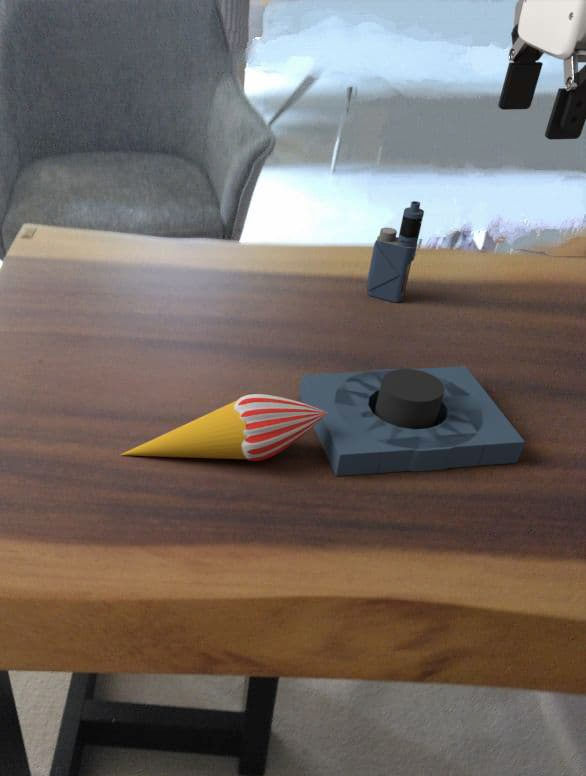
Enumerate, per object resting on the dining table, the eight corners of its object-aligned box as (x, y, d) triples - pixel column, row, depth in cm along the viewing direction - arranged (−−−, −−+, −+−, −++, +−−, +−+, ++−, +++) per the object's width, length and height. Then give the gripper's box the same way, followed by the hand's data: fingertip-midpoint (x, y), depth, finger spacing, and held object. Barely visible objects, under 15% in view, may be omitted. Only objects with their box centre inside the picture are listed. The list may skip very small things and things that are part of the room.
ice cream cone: (131, 483, 79) (330, 444, 77) (121, 490, 73) (337, 447, 71) (118, 422, 78) (319, 380, 76) (106, 424, 72) (325, 378, 70)
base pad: (459, 384, 86) (464, 364, 84) (518, 464, 76) (526, 443, 74) (298, 394, 84) (301, 373, 82) (336, 477, 74) (340, 456, 72)
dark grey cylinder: (419, 409, 82) (431, 367, 79) (441, 442, 78) (454, 399, 75) (364, 413, 82) (373, 370, 78) (383, 446, 77) (393, 403, 74)
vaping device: (401, 304, 100) (422, 208, 92) (362, 294, 102) (379, 199, 94) (408, 297, 102) (429, 201, 94) (369, 287, 104) (387, 192, 96)
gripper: (715, -101, 58) (622, 150, 69) (592, -117, 70) (531, 98, 82) (620, -102, 57) (542, 152, 68) (513, -118, 69) (462, 99, 81)
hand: (536, 122), depth 75 cm, fingers open, 9 cm apart
